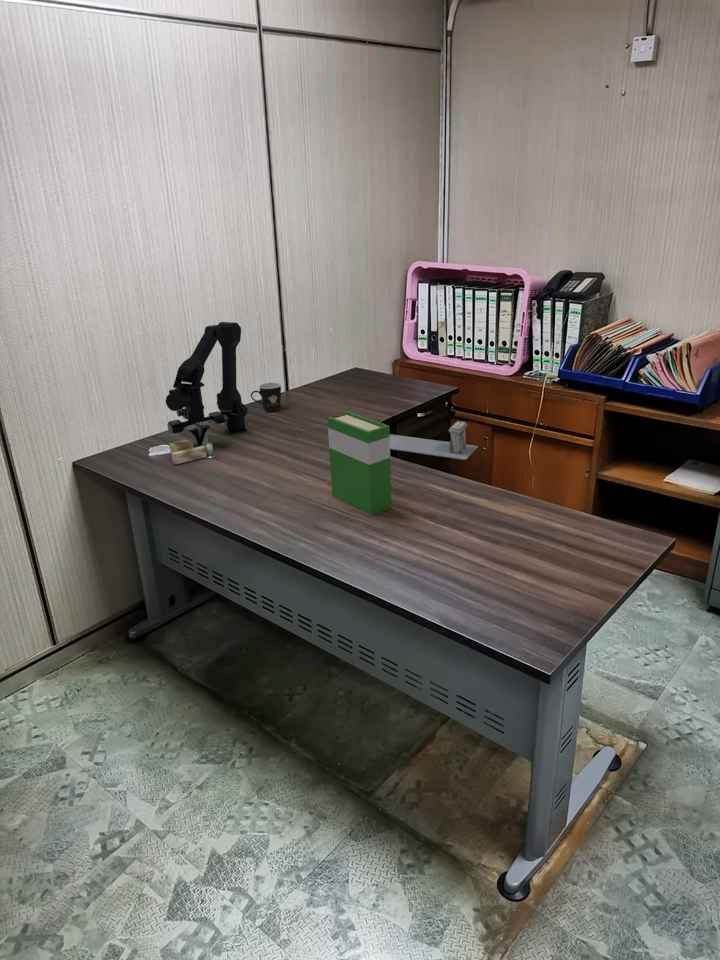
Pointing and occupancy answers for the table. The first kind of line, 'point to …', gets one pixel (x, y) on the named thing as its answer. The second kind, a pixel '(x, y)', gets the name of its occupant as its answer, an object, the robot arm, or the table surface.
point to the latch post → (205, 440)
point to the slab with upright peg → (437, 444)
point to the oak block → (181, 445)
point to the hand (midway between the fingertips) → (199, 445)
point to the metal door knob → (209, 451)
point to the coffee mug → (270, 396)
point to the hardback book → (360, 462)
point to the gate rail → (189, 455)
